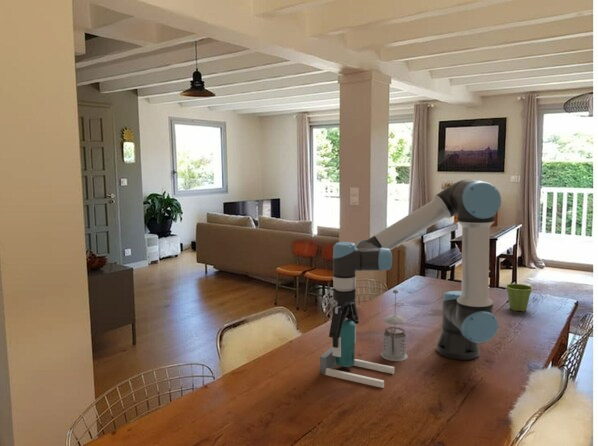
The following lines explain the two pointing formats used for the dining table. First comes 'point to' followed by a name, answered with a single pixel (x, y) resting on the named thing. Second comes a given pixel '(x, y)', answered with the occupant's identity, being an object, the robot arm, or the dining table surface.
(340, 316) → the robot arm
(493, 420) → the dining table surface
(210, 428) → the dining table surface
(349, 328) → the beverage bottle
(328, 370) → the guide track
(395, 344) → the french press
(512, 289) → the plant pot
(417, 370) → the dining table surface
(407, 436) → the dining table surface
